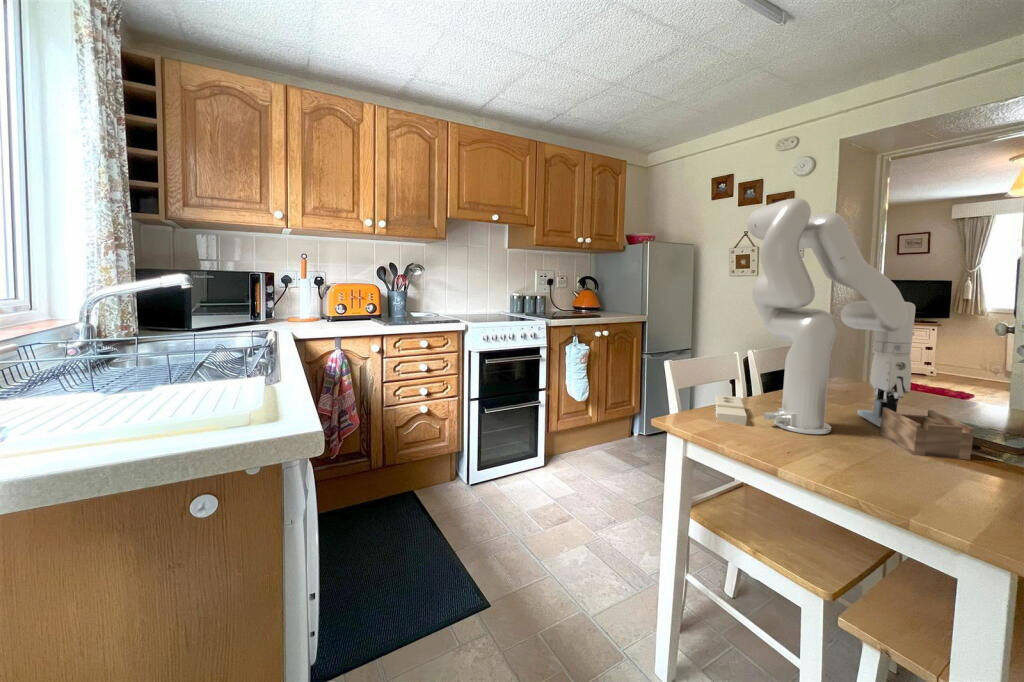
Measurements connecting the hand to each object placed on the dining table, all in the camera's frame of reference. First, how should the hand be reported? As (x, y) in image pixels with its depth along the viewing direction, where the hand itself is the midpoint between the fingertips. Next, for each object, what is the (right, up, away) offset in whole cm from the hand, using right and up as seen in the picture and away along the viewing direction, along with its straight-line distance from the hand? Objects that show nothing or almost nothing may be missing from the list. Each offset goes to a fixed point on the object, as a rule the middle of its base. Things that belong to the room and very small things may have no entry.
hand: (884, 414), depth 116 cm
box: (-5, -5, -15) cm, 17 cm away
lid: (0, -2, 0) cm, 2 cm away
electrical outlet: (-37, -2, +10) cm, 38 cm away
